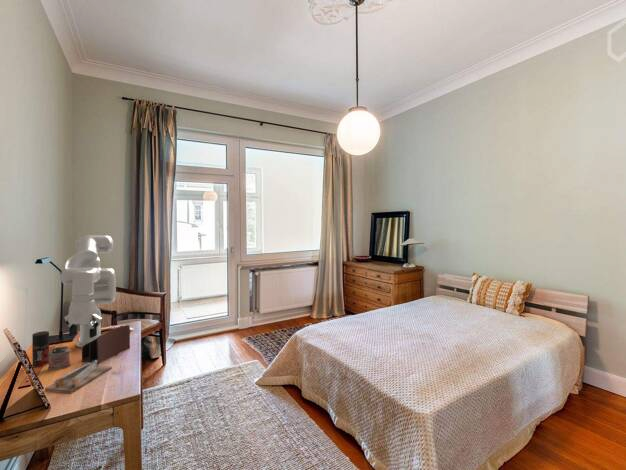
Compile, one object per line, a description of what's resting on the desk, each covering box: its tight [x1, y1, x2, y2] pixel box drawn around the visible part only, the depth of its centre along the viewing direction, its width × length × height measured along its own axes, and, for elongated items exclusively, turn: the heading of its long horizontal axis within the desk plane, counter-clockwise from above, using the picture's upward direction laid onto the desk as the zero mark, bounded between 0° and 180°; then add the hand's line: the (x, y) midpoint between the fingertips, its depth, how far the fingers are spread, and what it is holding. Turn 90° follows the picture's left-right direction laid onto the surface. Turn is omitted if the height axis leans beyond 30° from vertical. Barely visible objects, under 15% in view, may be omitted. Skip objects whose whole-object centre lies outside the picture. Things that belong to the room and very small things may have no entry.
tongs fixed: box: [55, 360, 97, 387], centre depth 133 cm, size 18×2×3 cm, turn 174°
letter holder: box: [81, 324, 131, 365], centre depth 157 cm, size 10×20×14 cm, turn 168°
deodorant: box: [31, 330, 50, 368], centre depth 145 cm, size 6×6×15 cm
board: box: [44, 364, 113, 394], centre depth 133 cm, size 21×12×1 cm, turn 174°
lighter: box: [47, 345, 71, 371], centre depth 142 cm, size 8×3×10 cm, turn 114°
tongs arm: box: [72, 362, 98, 387], centre depth 132 cm, size 16×1×3 cm, turn 9°
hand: (83, 335), depth 134 cm, fingers open, 9 cm apart
